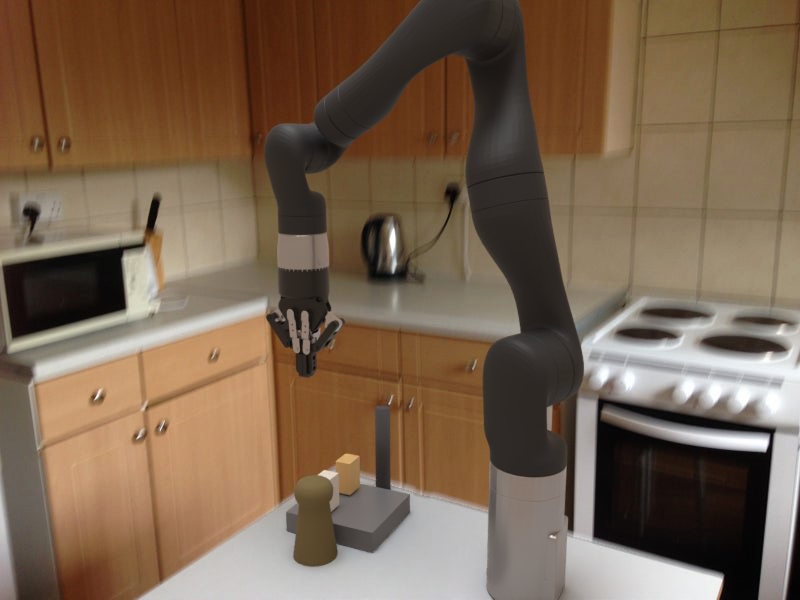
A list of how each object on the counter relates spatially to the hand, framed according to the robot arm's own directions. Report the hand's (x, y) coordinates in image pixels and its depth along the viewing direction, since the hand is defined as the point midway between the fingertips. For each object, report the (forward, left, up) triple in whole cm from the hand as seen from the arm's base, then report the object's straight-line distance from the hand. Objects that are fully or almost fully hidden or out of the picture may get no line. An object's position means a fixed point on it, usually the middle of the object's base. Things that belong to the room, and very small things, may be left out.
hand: (306, 375), depth 111 cm
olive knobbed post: (-9, +13, -21) cm, 26 cm away
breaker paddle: (-7, 0, -17) cm, 18 cm away
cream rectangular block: (-7, +7, -17) cm, 20 cm away
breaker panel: (-9, +3, -21) cm, 23 cm away
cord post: (-9, -8, -21) cm, 24 cm away
